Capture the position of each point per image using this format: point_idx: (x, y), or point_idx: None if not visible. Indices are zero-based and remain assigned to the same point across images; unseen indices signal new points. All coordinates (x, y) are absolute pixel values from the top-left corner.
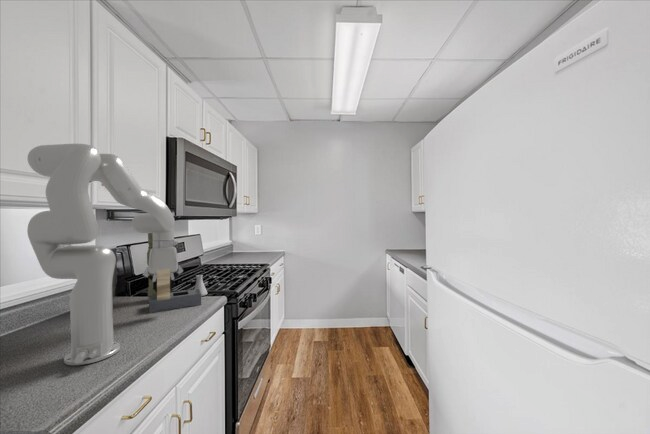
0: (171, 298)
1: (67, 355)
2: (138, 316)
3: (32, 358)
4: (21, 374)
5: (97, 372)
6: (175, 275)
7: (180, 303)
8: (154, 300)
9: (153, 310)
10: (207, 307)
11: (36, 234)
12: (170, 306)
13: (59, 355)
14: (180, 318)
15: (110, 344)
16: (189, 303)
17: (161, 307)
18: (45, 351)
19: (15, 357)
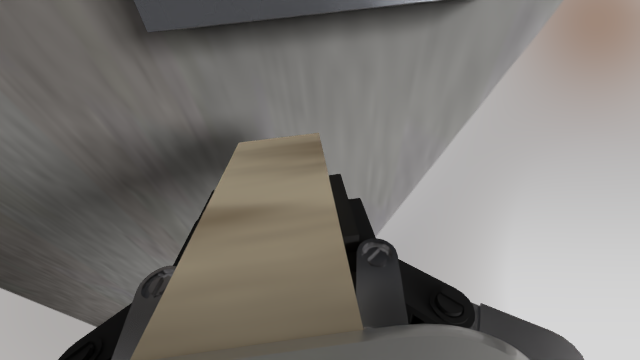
0: (315, 13)
1: None
2: (155, 78)
3: (76, 297)
4: None
5: None
6: (413, 322)
7: (368, 8)
8: (189, 26)
9: (207, 26)
10: (485, 81)
11: None
12: (305, 15)
13: (130, 298)
14: (354, 185)
15: None
16: (422, 2)
17: (251, 21)
18: (68, 279)
19: (20, 287)
